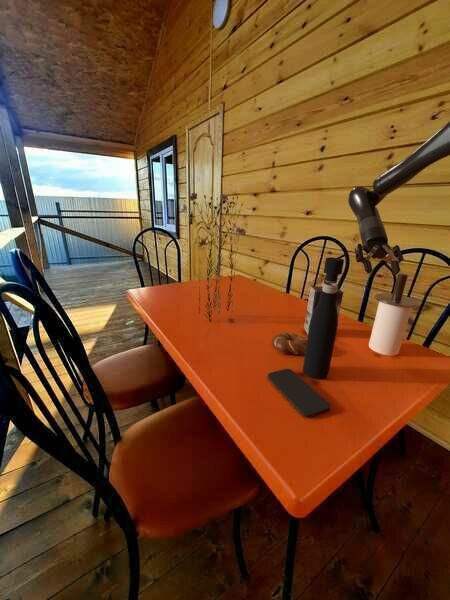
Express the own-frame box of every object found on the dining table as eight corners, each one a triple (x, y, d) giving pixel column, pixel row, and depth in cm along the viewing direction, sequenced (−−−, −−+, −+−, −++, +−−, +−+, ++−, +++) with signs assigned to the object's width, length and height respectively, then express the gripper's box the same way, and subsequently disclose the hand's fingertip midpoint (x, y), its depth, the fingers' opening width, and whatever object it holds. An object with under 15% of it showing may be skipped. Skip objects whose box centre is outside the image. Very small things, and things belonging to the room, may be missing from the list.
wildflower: (223, 304, 114) (227, 196, 99) (256, 322, 96) (266, 193, 81) (176, 313, 102) (173, 192, 87) (203, 336, 84) (204, 188, 69)
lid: (406, 296, 79) (413, 271, 77) (427, 309, 69) (436, 280, 66) (368, 293, 81) (374, 269, 78) (384, 305, 70) (391, 277, 68)
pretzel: (311, 343, 82) (313, 333, 81) (310, 360, 72) (312, 349, 71) (274, 336, 85) (275, 326, 84) (268, 352, 76) (269, 341, 75)
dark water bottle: (297, 370, 67) (314, 257, 58) (311, 362, 71) (329, 255, 61) (318, 383, 63) (340, 262, 53) (333, 374, 66) (356, 260, 56)
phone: (305, 416, 51) (265, 373, 64) (305, 419, 51) (265, 376, 64) (333, 406, 54) (289, 367, 67) (332, 409, 54) (289, 370, 67)
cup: (376, 355, 76) (390, 305, 71) (363, 341, 84) (374, 296, 79) (404, 356, 76) (420, 306, 71) (389, 343, 84) (401, 297, 78)
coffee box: (308, 336, 87) (315, 291, 81) (303, 327, 93) (309, 285, 87) (335, 337, 86) (344, 292, 81) (328, 329, 93) (336, 286, 87)
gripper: (357, 224, 85) (367, 265, 78) (399, 226, 85) (413, 267, 78) (347, 239, 91) (355, 278, 84) (386, 240, 91) (398, 279, 84)
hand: (383, 272), depth 81 cm, fingers open, 8 cm apart
